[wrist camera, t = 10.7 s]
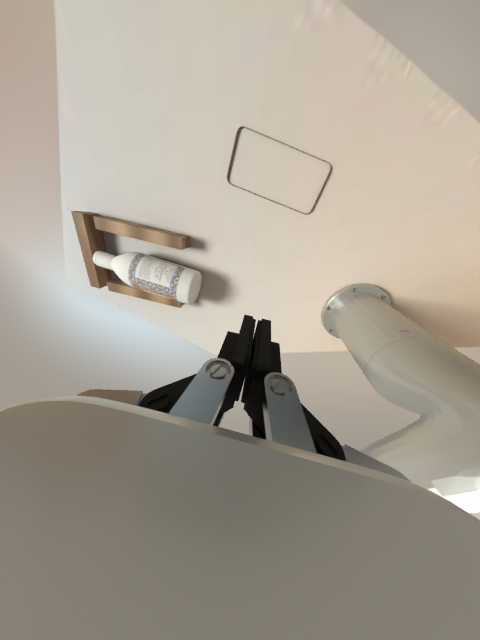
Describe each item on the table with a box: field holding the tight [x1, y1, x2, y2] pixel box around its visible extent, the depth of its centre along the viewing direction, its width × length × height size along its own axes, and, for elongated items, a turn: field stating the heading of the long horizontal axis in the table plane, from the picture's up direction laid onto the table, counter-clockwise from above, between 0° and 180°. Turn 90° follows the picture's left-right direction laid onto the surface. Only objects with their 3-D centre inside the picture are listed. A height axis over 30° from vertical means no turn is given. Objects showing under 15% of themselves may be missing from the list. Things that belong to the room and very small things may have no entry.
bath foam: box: [93, 251, 202, 305], centre depth 34 cm, size 7×7×20 cm
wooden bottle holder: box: [71, 211, 190, 308], centre depth 35 cm, size 20×14×4 cm
